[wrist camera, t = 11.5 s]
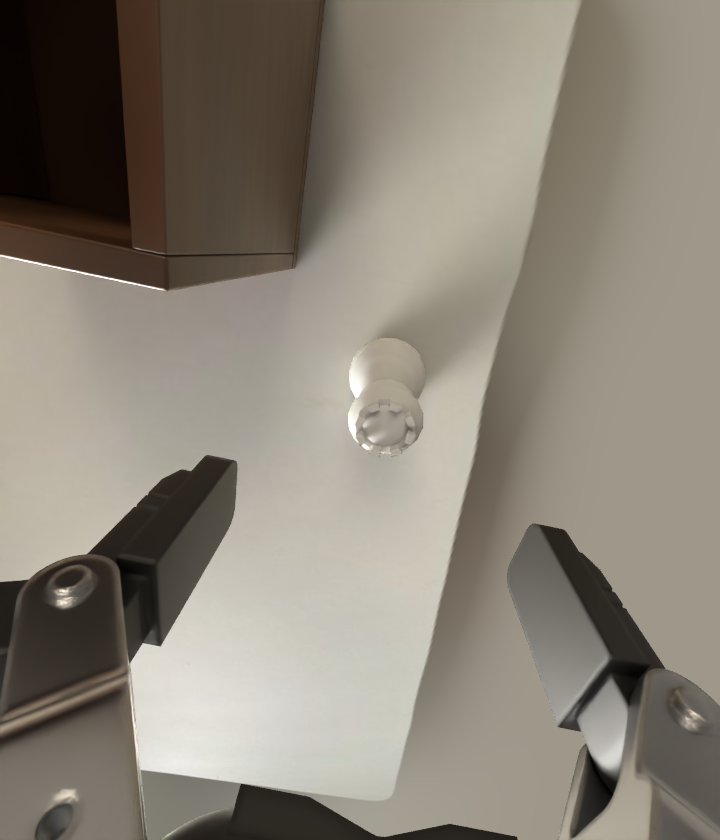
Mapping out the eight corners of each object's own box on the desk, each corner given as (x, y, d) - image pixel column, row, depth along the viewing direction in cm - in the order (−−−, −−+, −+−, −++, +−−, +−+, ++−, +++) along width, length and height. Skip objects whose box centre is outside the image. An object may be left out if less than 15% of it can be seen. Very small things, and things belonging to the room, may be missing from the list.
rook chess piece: (397, 418, 24) (400, 494, 16) (337, 383, 23) (311, 444, 16) (439, 361, 22) (463, 416, 15) (375, 320, 21) (367, 357, 14)
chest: (331, -61, 15) (122, -1158, 3) (295, 268, 20) (167, 292, 9) (-1, -136, 15) (-1445, -1560, 3) (51, 216, 20) (-414, 169, 8)
